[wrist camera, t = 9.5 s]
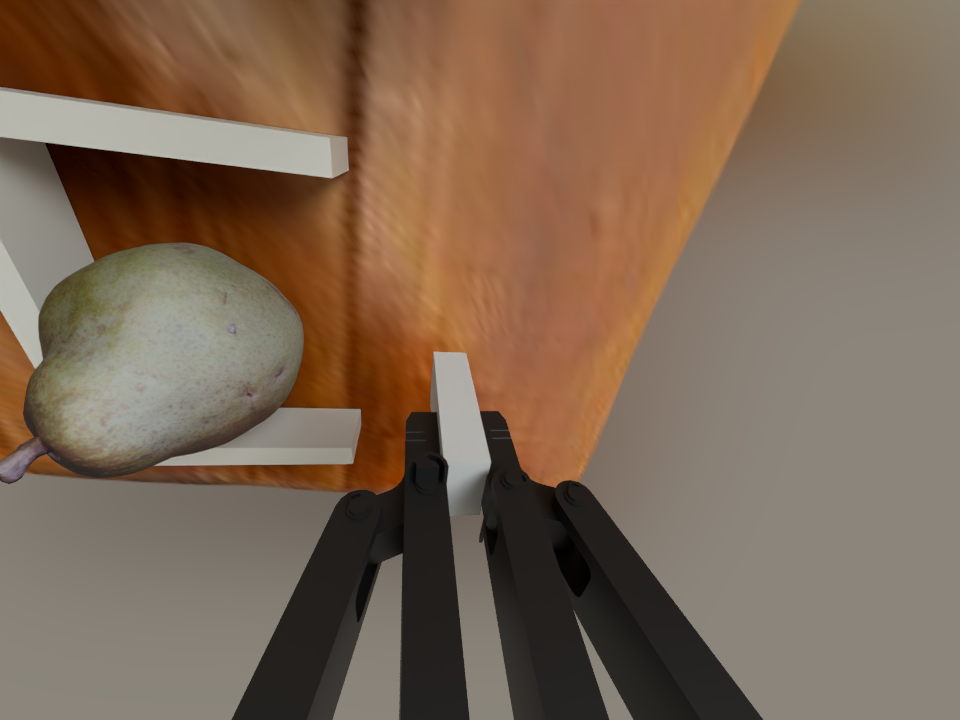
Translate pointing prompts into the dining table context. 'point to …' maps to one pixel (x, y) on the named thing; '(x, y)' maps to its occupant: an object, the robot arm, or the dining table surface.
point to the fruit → (155, 360)
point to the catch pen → (63, 250)
